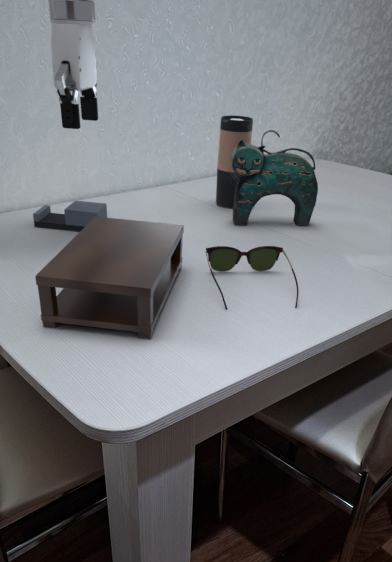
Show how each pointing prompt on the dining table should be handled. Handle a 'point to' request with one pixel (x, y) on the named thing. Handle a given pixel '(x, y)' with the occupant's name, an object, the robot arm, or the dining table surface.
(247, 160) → the ceramic cat
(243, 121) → the travel mug
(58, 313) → the coffee table
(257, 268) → the sunglasses
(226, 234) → the dining table surface
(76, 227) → the dark grey stepped block
